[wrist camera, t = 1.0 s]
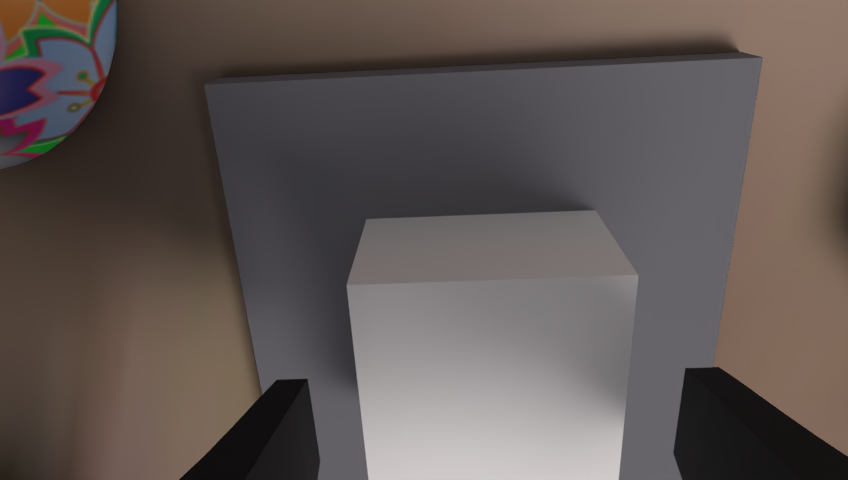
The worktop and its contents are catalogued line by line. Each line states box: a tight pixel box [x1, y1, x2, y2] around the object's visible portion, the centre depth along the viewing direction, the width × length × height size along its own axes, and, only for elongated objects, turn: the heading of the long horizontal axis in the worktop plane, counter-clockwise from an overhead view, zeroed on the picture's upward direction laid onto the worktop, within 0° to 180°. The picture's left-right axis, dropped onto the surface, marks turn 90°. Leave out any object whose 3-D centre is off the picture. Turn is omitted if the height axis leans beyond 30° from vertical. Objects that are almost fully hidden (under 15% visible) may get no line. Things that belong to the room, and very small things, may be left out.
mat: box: [204, 52, 763, 480], centre depth 16 cm, size 12×12×1 cm
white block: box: [347, 210, 638, 480], centre depth 14 cm, size 5×5×3 cm
